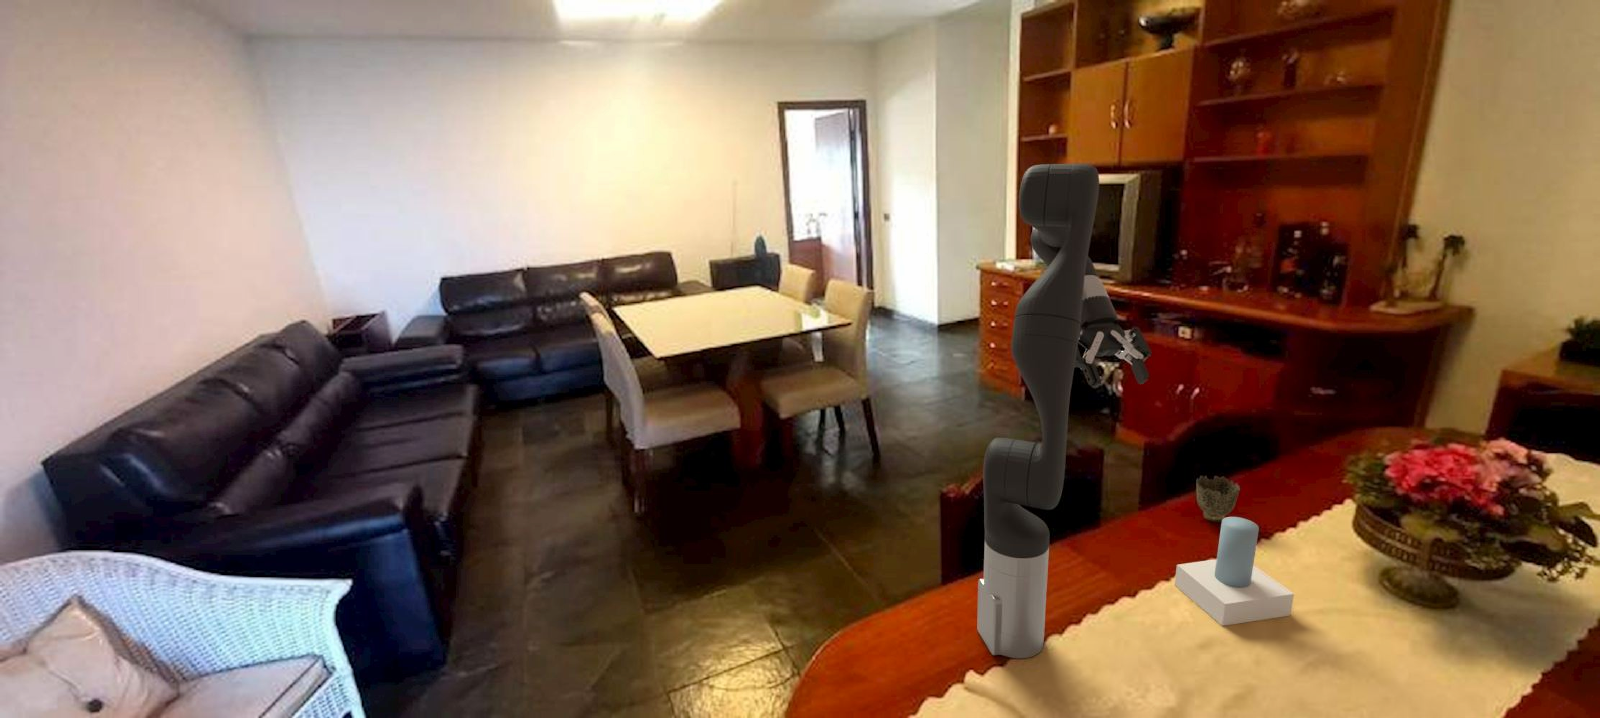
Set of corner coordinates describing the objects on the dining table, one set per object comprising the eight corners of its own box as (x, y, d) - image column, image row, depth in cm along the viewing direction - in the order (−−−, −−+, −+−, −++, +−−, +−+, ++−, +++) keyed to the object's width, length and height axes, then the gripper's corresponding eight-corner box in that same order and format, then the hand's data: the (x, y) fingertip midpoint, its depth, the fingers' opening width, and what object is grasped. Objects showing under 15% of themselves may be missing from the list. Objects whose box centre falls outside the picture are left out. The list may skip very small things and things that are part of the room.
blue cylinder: (1229, 589, 107) (1237, 534, 104) (1207, 571, 112) (1214, 518, 109) (1258, 585, 108) (1266, 530, 105) (1235, 568, 112) (1242, 515, 110)
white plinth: (1222, 625, 105) (1225, 604, 104) (1174, 584, 115) (1176, 564, 114) (1290, 615, 106) (1294, 593, 105) (1237, 575, 117) (1240, 555, 116)
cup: (1228, 511, 138) (1233, 476, 135) (1240, 529, 131) (1245, 492, 129) (1187, 508, 140) (1192, 473, 137) (1197, 526, 133) (1202, 490, 131)
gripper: (1060, 297, 118) (1091, 377, 110) (1134, 291, 120) (1170, 369, 112) (1043, 320, 124) (1072, 397, 116) (1114, 314, 126) (1147, 390, 118)
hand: (1120, 383), depth 114 cm, fingers open, 8 cm apart
